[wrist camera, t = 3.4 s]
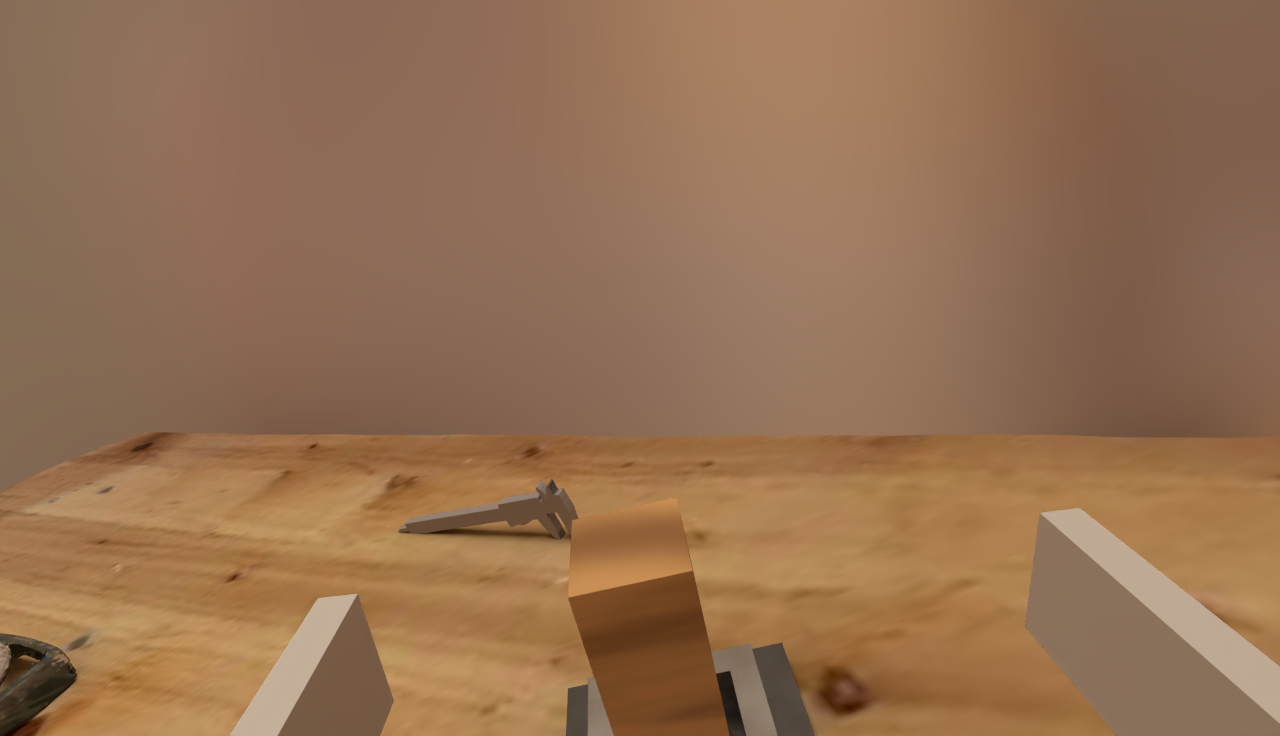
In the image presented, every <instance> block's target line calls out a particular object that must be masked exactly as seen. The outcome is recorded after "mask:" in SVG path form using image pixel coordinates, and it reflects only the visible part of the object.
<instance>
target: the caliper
mask: <svg viewBox="0 0 1280 736" xmlns="http://www.w3.org/2000/svg"><path fill="white" fill-rule="evenodd" d="M536 490H537V492H533V493H528V494H522V495H517V496H512V497H507V498H503V499H502V500H501V501H500V503H495V504H489V505H483V506H477V507H471V508H465V509H459V510H453V511H447V512H441V513H436V514H430V515H424V516H418V517H413V518H410V519H409V520H408V521H407V522H406V523H405V524H404V525H403V526H402V527H401V528H400V530H399V532H407V531H409V532H410V533H421V534H422V533H429V532H435V531H441V530H447V529H453V528H460V527H466V526H473V525H479V524H486V523H493V522H499V521H507V522H508V524H509V525H510V526H511V527H514V526H516V525H525V524H527V523H529V522H530V521H531V520H533V519H537V520H538V521H539V522H540V523H541V524H542V525H543V526H544V527H545V528H546V529H547V530H548V531H549V532H550V534H551V535H552V536H553V537H554V538H555V539H561V538H562V537H563V535H564V533H565V531H564V530H563V528H562V525H561V523H560V522H559V520H558V518H557V517H556V515H555V512H557V513H558V515H559V517H560V518H561V520H562V521H563V523H564V525H565V526H566V528H567V530H568V531H569V533H570V535H571V531H572V520H576V519H578V517H577V514H576V511H575V507H574V505H573V503H572V502H571V500H570V498H569V497H568V495H567V494H566V492H565V490H564V489H563V488H561V489H558V488H557V487H556V485H555V483H554V481H553V480H552V479H551V480H550V482H549V483H548V484H547V485H546V484H545V483H543V482H542V481H540V482H539V484H538V485H537V487H536Z"/></svg>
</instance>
